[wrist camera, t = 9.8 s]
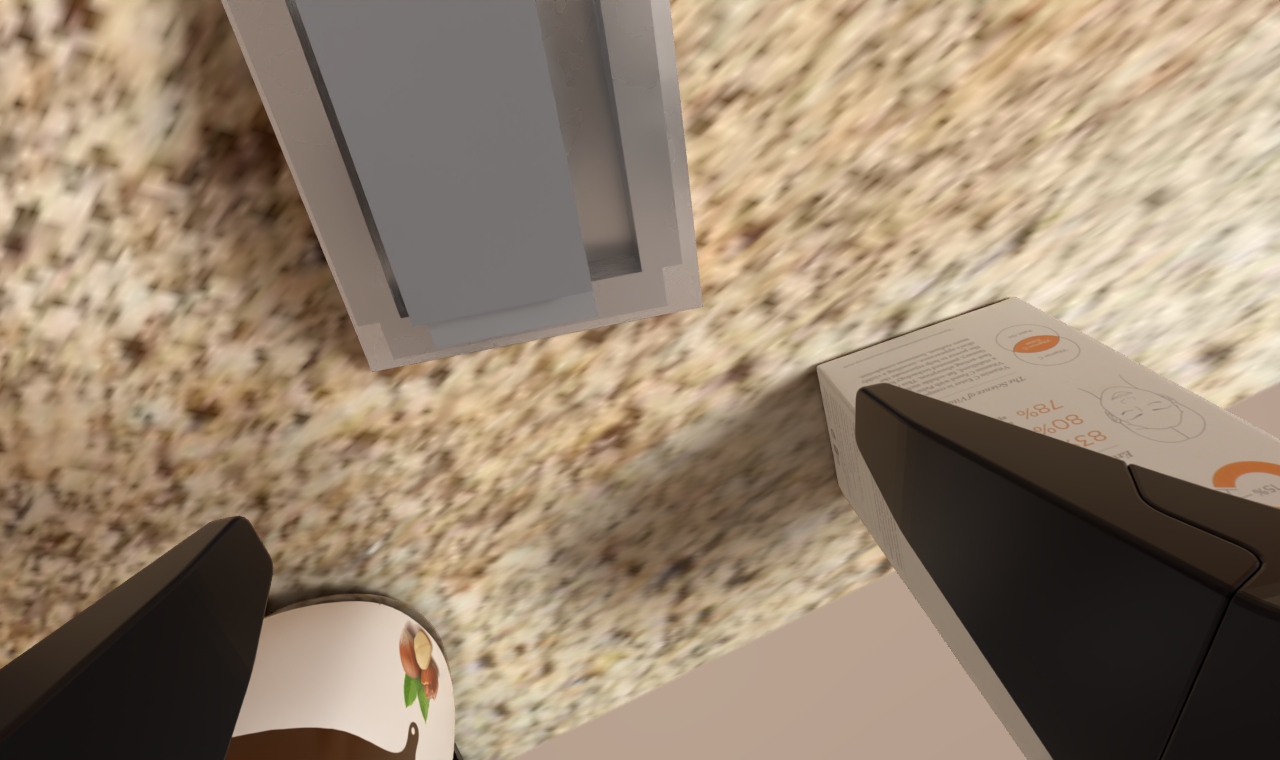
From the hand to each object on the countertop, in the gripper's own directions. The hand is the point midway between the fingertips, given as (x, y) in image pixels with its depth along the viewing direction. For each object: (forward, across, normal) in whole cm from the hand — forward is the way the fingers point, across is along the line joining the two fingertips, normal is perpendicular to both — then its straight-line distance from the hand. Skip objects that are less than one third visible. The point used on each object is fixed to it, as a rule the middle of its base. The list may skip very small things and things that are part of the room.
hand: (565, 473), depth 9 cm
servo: (+12, +1, -4) cm, 12 cm away
